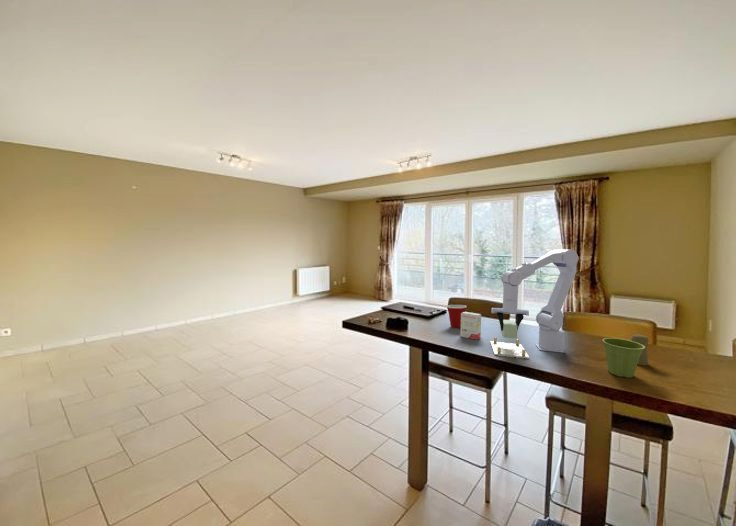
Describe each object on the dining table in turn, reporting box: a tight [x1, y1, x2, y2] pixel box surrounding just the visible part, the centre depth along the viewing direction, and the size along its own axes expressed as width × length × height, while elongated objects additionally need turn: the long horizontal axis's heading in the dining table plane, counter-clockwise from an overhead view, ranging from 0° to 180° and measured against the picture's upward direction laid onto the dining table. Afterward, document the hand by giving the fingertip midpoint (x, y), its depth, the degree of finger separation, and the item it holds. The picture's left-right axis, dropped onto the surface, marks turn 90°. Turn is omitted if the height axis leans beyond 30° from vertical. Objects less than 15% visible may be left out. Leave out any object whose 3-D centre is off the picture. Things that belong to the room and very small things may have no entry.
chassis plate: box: [489, 336, 530, 360], centre depth 135 cm, size 13×17×3 cm
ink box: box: [460, 311, 482, 341], centre depth 153 cm, size 9×5×12 cm, turn 50°
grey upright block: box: [630, 334, 650, 366], centre depth 123 cm, size 6×6×11 cm
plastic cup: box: [446, 304, 467, 329], centre depth 171 cm, size 11×11×12 cm
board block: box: [500, 319, 518, 340], centre depth 136 cm, size 5×10×6 cm, turn 164°
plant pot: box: [601, 337, 645, 379], centre depth 112 cm, size 12×12×11 cm
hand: (508, 330), depth 135 cm, fingers closed on board block, 5 cm apart
